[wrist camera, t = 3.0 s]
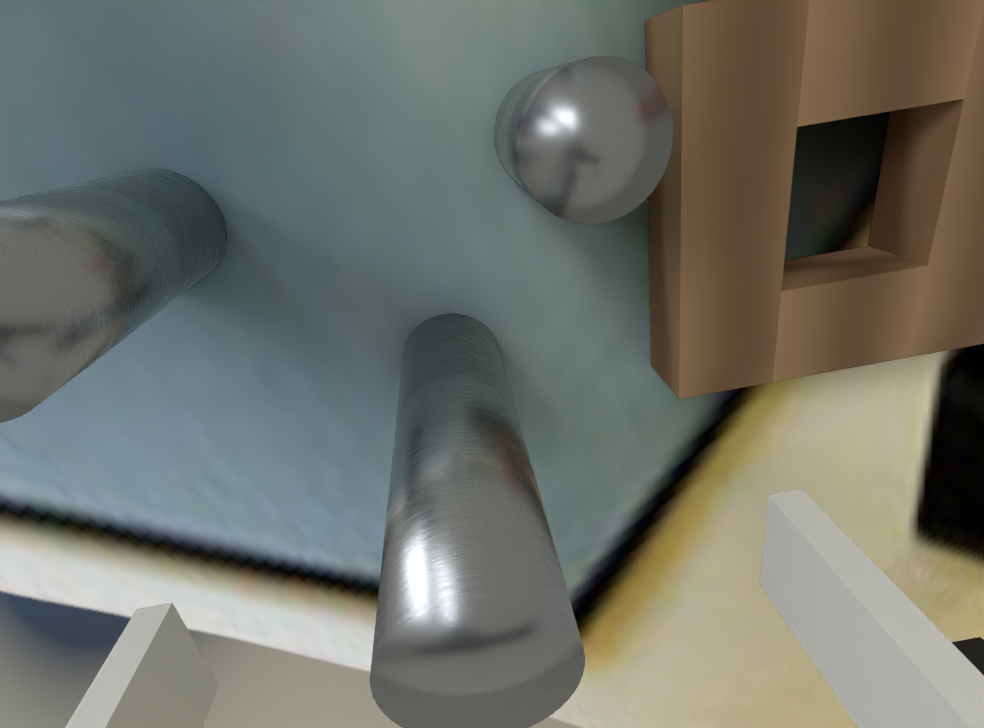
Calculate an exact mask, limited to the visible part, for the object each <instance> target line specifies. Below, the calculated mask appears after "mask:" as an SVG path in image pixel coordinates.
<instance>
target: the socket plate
mask: <svg viewBox="0 0 984 728" xmlns="http://www.w3.org/2000/svg"><path fill="white" fill-rule="evenodd" d="M645 47H646V72H647V73H648V74H650V75H651V77H652V78H653V79H654V80H655V81H656V82H657V84H658V85H659V87H660V88H661V90H662V91H663V93H664V95H665V97H666V100H667V102H668V105H669V108H670V111H671V117H672V123H673V142H672V149H671V154H670V158H669V161H668V164H667V167H666V169H665V172H664V174H663V176H662V178H661V179H660V181H659V183H658V185H657V186H656V187H655V189H654V190H653V192H652V193H651V194H650V195H649V196H648V224H649V283H650V342H651V366H652V368H653V369H654V370H655V371H656V372H657V373H658V375H659V376H660V377H661V378H662V379H663V381H664V382H665V383H666V384H667V385H668V386H669V388H670V389H671V390H672V391H673V392H674V394H675V395H676V396H677V397H678V398H679V399H682V398H688V397H693V396H699V395H704V394H710V393H715V392H721V391H726V390H732V389H737V388H743V387H748V386H754V385H759V384H765V383H770V382H776V381H781V380H787V379H792V378H798V377H803V376H809V375H814V374H820V373H825V372H831V371H836V370H842V369H847V368H853V367H858V366H864V365H869V364H874V363H880V362H885V361H891V360H896V359H902V358H907V357H913V356H918V355H924V354H929V353H935V352H940V351H946V350H951V349H957V348H962V347H968V346H973V345H979V344H984V0H713V1H707V2H701V3H695V4H688V5H683V6H680V7H677V8H675V9H672V10H670V11H667V12H665V13H662V14H659V15H657V16H654V17H652V18H649V19H646V20H645ZM889 111H890V115H889V121H888V127H887V133H886V139H885V145H884V151H883V157H882V164H881V170H880V176H879V182H878V188H877V194H876V200H875V206H874V212H873V218H872V224H871V230H870V236H869V243H868V246H866V247H860V248H854V249H849V250H843V251H837V252H831V253H826V254H820V255H814V256H809V257H803V258H797V259H791V260H786V261H784V259H785V248H786V238H787V228H788V217H789V207H790V197H791V186H792V176H793V165H794V155H795V145H796V134H797V127H799V126H805V125H811V124H817V123H823V122H829V121H835V120H841V119H847V118H853V117H859V116H865V115H871V114H877V113H883V112H889Z"/></svg>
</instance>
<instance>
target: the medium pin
mask: <svg viewBox="0 0 984 728" xmlns="http://www.w3.org/2000/svg"><path fill="white" fill-rule="evenodd" d="M226 242H227V233H226V226H225V223H224V219H223V217H222V214H221V212H220V210H219V208H218V207H217V205H216V203H215V202H214V201H213V199H212V198H211V197H210V196H209V195H208V194H207V192H206V191H205V190H203V189H202V188H201V187H200V186H199V185H197V184H196V183H195V182H193V181H192V180H190V179H188V178H186V177H185V176H183V175H180V174H178V173H175V172H172V171H168V170H163V169H142V170H138V171H133V172H129V173H124V174H120V175H116V176H111V177H107V178H102V179H98V180H94V181H89V182H85V183H80V184H76V185H72V186H67V187H63V188H58V189H54V190H50V191H45V192H41V193H36V194H32V195H28V196H23V197H19V198H14V199H10V200H6V201H1V202H0V423H1V422H5V421H9V420H12V419H14V418H17V417H20V416H22V415H23V414H25V413H27V412H29V411H31V410H32V409H33V408H34V407H36V406H37V405H38V404H40V403H41V402H42V401H44V400H45V399H46V398H48V397H49V396H50V395H51V394H53V393H54V392H55V391H57V390H58V389H59V388H61V387H62V386H63V385H64V384H66V383H67V382H68V381H70V380H71V379H72V378H74V377H75V376H76V375H77V374H79V373H80V372H81V371H83V370H84V369H85V368H87V367H88V366H89V365H90V364H92V363H93V362H94V361H96V360H97V359H98V358H100V357H101V356H102V355H103V354H105V353H106V352H107V351H109V350H110V349H111V348H113V347H114V346H115V345H116V344H118V343H119V342H120V341H122V340H123V339H124V338H126V337H127V336H128V335H130V334H131V333H132V332H133V331H135V330H136V329H137V328H139V327H140V326H141V325H143V324H144V323H145V322H146V321H148V320H149V319H150V318H152V317H153V316H154V315H156V314H157V313H158V312H159V311H161V310H162V309H163V308H165V307H166V306H167V305H169V304H170V303H171V302H172V301H174V300H175V299H176V298H178V297H179V296H180V295H182V294H183V293H184V292H185V291H187V290H188V289H189V288H191V287H192V286H193V285H195V284H196V283H197V282H199V281H200V280H201V279H202V278H204V277H205V276H206V275H208V274H209V273H210V272H211V271H213V270H214V269H215V268H216V267H217V265H218V264H219V263H220V261H221V259H222V257H223V255H224V252H225V249H226Z"/></svg>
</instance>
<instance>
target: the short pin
mask: <svg viewBox="0 0 984 728" xmlns="http://www.w3.org/2000/svg"><path fill="white" fill-rule="evenodd" d="M494 136H495V146H496V151H497V154H498V157H499V159H500V161H501V164H502V165H503V167H504V169H505V170H506V172H507V173H508V174H509V175H510V176H511V177H512V178H513V179H514V180H515V181H516V182H517V183H518V184H520V185H521V186H522V187H523V188H524V189H525V190H526V191H527V192H528V193H530V194H531V195H532V196H533V197H534V198H535V199H536V200H537V201H539V202H540V203H541V204H542V205H543V206H544V207H545V208H546V209H548V210H549V211H550V212H552V213H553V214H555V215H556V216H558V217H560V218H562V219H564V220H567V221H570V222H573V223H579V224H600V223H605V222H609V221H613V220H615V219H618V218H620V217H622V216H624V215H626V214H628V213H629V212H631V211H632V210H634V209H635V208H637V207H638V206H639V205H640V204H641V203H642V202H644V201H645V200H646V199H647V197H648V196H649V195H650V194H651V193H652V192H653V190H654V189H655V187H656V186H657V185H658V183H659V181H660V179H661V178H662V176H663V174H664V172H665V169H666V167H667V164H668V161H669V158H670V154H671V149H672V142H673V123H672V117H671V111H670V108H669V105H668V102H667V100H666V97H665V95H664V93H663V91H662V90H661V88H660V87H659V85H658V84H657V82H656V81H655V80H654V79H653V78H652V77H651V75H650V74H648V73H647V72H646V71H645V70H644V69H642V68H641V67H639V66H637V65H636V64H634V63H632V62H630V61H627V60H625V59H621V58H617V57H610V56H597V57H590V58H586V59H581V60H578V61H575V62H571V63H568V64H564V65H561V66H557V67H554V68H551V69H547V70H544V71H540V72H537V73H534V74H532V75H530V76H528V77H526V78H524V79H523V80H521V81H520V82H519V83H517V84H516V85H515V86H514V87H513V88H512V89H511V90H510V92H509V93H508V94H507V96H506V97H505V99H504V101H503V102H502V104H501V106H500V109H499V111H498V114H497V118H496V123H495V134H494Z"/></svg>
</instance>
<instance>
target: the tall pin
mask: <svg viewBox="0 0 984 728" xmlns="http://www.w3.org/2000/svg"><path fill="white" fill-rule="evenodd" d="M584 666H585V654H584V649H583V645H582V641H581V638H580V634H579V631H578V627H577V624H576V620H575V617H574V613H573V610H572V606H571V603H570V599H569V596H568V592H567V589H566V585H565V582H564V578H563V575H562V571H561V567H560V564H559V560H558V557H557V553H556V550H555V546H554V543H553V539H552V536H551V532H550V529H549V525H548V522H547V518H546V515H545V511H544V508H543V504H542V500H541V497H540V493H539V490H538V486H537V483H536V479H535V476H534V472H533V469H532V465H531V462H530V458H529V455H528V451H527V448H526V444H525V441H524V437H523V434H522V430H521V426H520V423H519V419H518V416H517V412H516V409H515V405H514V402H513V398H512V395H511V391H510V388H509V384H508V381H507V377H506V374H505V370H504V367H503V363H502V359H501V356H500V352H499V349H498V345H497V343H496V340H495V338H494V336H493V335H492V333H491V332H490V331H489V329H488V328H487V327H486V326H484V325H483V324H482V323H481V322H479V321H477V320H476V319H474V318H471V317H469V316H465V315H460V314H443V315H439V316H435V317H432V318H430V319H428V320H426V321H424V322H423V323H422V324H420V325H419V326H418V327H417V328H416V329H415V330H414V331H413V332H412V333H411V335H410V336H409V338H408V340H407V342H406V344H405V348H404V353H403V362H402V372H401V381H400V391H399V401H398V410H397V420H396V430H395V440H394V449H393V459H392V469H391V479H390V488H389V498H388V508H387V518H386V527H385V537H384V547H383V557H382V566H381V576H380V586H379V596H378V605H377V615H376V625H375V635H374V644H373V654H372V664H371V673H370V685H371V690H372V694H373V697H374V699H375V701H376V703H377V705H378V706H379V708H380V709H381V710H382V712H383V713H384V714H385V715H387V717H388V718H390V719H391V720H392V721H393V722H395V723H396V724H398V725H399V726H401V727H403V728H528V727H531V726H533V725H535V724H536V723H538V722H540V721H542V720H544V719H545V718H547V717H548V716H550V715H551V714H553V713H554V712H555V711H556V710H558V709H559V708H560V707H561V706H562V705H563V704H564V703H565V702H566V701H567V700H568V699H569V698H570V697H571V695H572V694H573V693H574V691H575V690H576V688H577V686H578V685H579V683H580V680H581V678H582V675H583V671H584Z"/></svg>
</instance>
